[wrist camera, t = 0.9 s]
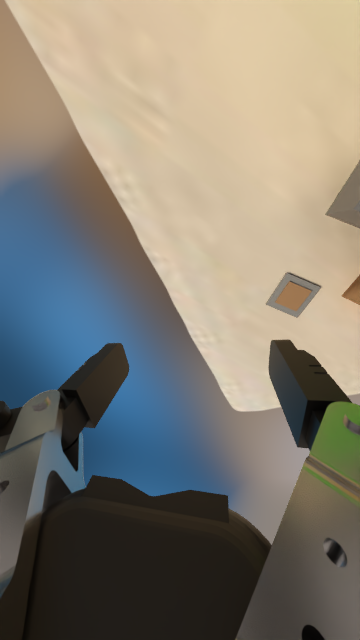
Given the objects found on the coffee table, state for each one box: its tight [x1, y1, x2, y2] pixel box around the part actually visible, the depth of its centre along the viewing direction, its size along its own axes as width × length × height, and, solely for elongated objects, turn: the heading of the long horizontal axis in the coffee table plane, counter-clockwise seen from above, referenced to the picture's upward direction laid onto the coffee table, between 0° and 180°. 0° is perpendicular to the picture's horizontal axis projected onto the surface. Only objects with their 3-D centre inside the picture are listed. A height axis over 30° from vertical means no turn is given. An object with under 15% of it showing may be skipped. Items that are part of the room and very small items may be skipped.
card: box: [266, 273, 321, 317], centre depth 31 cm, size 6×6×1 cm
